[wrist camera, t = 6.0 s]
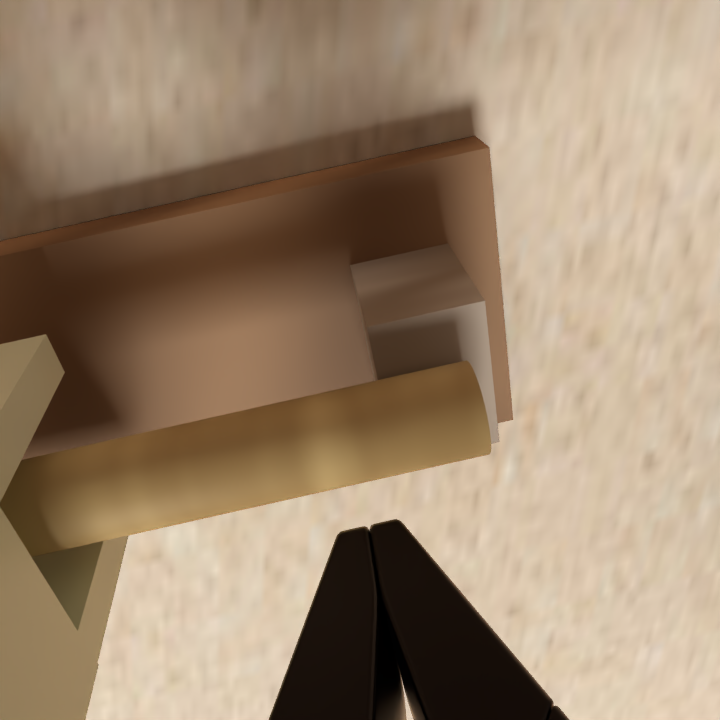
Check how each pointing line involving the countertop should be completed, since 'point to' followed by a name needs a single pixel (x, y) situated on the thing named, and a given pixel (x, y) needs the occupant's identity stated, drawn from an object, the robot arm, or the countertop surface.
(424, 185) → the cable stand
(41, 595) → the cream block
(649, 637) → the countertop surface
